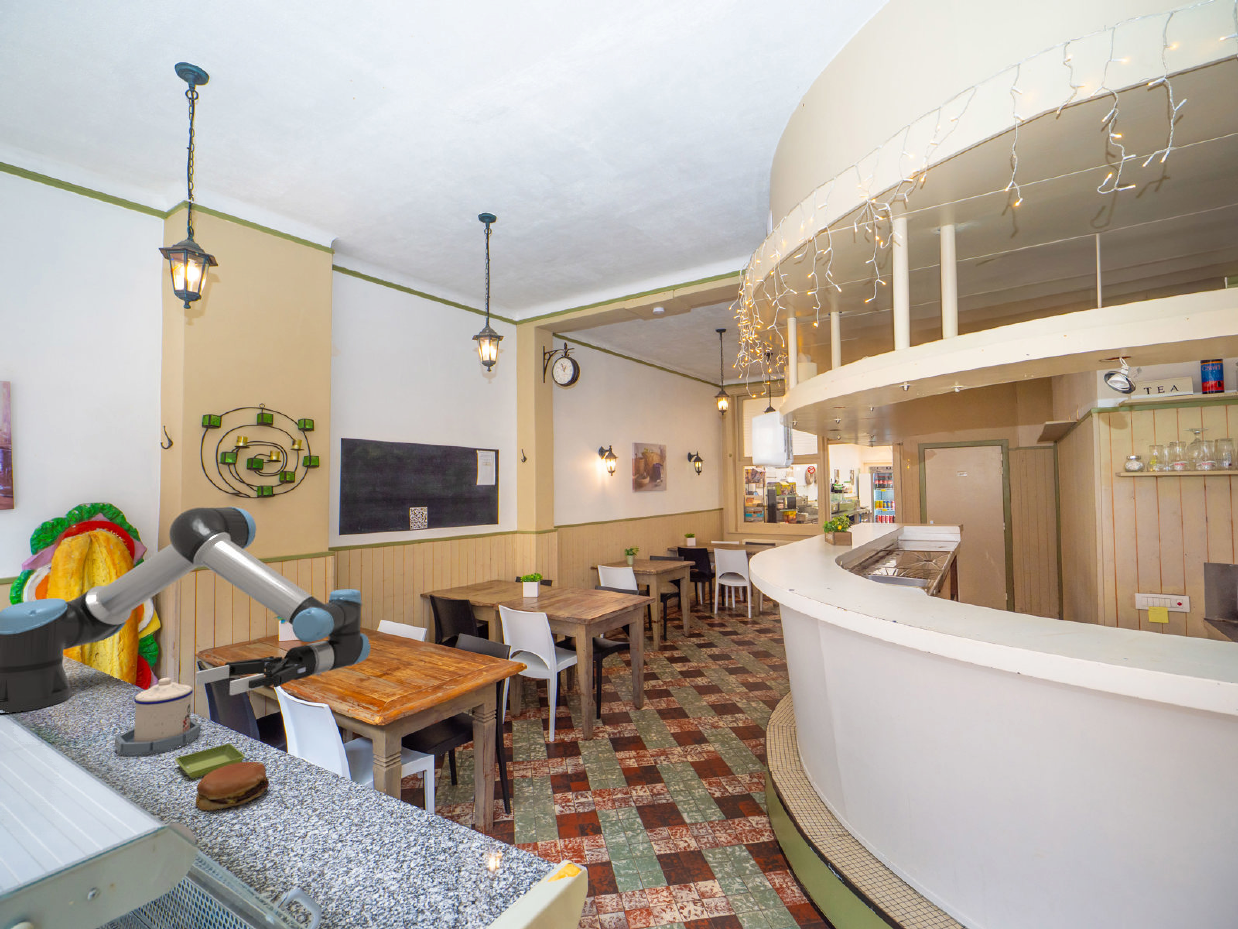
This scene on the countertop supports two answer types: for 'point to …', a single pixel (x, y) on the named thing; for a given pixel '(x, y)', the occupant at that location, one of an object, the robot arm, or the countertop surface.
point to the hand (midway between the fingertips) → (212, 683)
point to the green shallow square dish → (209, 760)
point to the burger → (231, 785)
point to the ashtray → (154, 742)
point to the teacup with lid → (162, 711)
